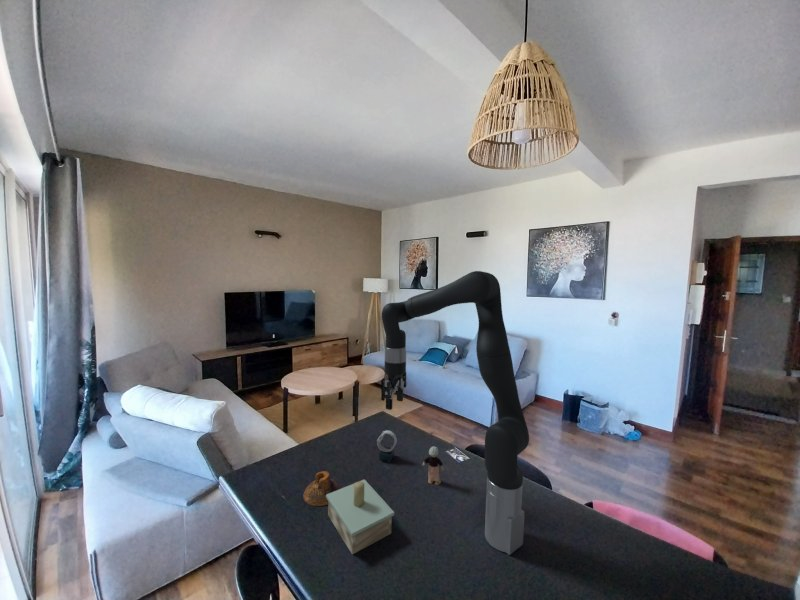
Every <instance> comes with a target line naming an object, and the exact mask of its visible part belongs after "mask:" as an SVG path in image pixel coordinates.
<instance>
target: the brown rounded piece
mask: <svg viewBox="0 0 800 600" xmlns="http://www.w3.org/2000/svg"><path fill="white" fill-rule="evenodd" d="M314 478H315V479H314V480H313V481H311V482H310V483H309V484H308V485H307V487H306V488H305V489H304V492H303V495H302V498H303V501H304V503H306V504H307V505H309V506H311V507H323V506H326V505H327V506H328V500H327V498H326V495H327V494H329V493H332V492H334V491H337V490H339V489H341V487H340V485H339V484H338V482H336V481H335V480H334V479H332V478H331V477H330V473H329V472H328V471H326V470H325V471H319V472H317V473H316V474H315V476H314Z"/></svg>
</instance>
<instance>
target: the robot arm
mask: <svg viewBox="0 0 800 600" xmlns="http://www.w3.org/2000/svg"><path fill="white" fill-rule="evenodd" d="M469 303H470V304H471V303H472V304H475V308H476V313H477V318H478V328H477V337H476V338H477V339H476V349H475V351H476V357H477V364H478V370H479V373H480V376H481V378H482V380H483V382H484V384H485V385H486V387H487V388H488V389H489V391H490V393H491V394H492V396H493V399H494V402H495V406H496V411H497V420H498V421H497V422H495V423H493V424H492V425H490V426H489V427H488V428H487V429H486V432H485V436H484V465H485V468H486V474H487V475H486V494H485V495H486V497H485V498H486V499H485V515H484V516H485V518H484V519H485V520H484V523H485V524H484V538H485V540H486V541H487V543H488V544H489V545H490V546H491V547H492V548H494V549H495V550H497V551H499V552H503V553H506V554H507V555H508V556H510V555H512V554H513V553H514V552H515V551H516V550H518V549H520V547H522V546H523V544H524V531H525V529H524V527H525V511H524V510H523V509H522V504H523V503H522V501H523V500H522V499H523V485H524V484H523V483H524V482H523V481H524V480H523V479H524V474H523V470H521V468H520V467H519V466H518V456H519V455H520V454H521V453H523V452H524V451H525V449H526V448H528V446H529V443H530V433H529V429H528V426H527V425H528V424H527V423H526V422H527V421H526V419H525V415H524V412H523V409H522V405H521V402H520V397H519V393H518V392H519V390H518V386H517V382H516V376H515V371H514V364H513V359H512V354H511V353H512V352H511V349H510V345H509V339H508V335H507V331H506V324H505V322H504V321H505V320H504V317H503V316H504V315H503V307H502V293H501V284H500V282H499V280H498V278H497V277H496V276H495V275H494V274H493V273H490V272H486V271H481V270H475V271H471V272H469V273H467V274H465V275H463V276H461V277H459V278H457V279H456V280H454V281H452V282H450V283H448V284H446V285H444V286H441V287H439V288H436V289H433V290H430V291H427V292H423V293H420V294H417V295H414V296H411V297H409V298H408V299H406V300H404V301H399V302H389V303H386V304H385V305H384V306H383V308H382V310H381V320H382V321H381V322H382V325H383V330H384V333H385V349H384V373H385V375H386V374H387V380H385V379H383V380H382V392H381V393H382V395H381V398H382V399H385V409H386V410H388V411H392V409H393V398H394V394H396V401H397V402H403V401H404V391H405V388H407V347H406V345H407V344H406V343H407V342H406V340H407V338H406V337H407V335H406V334H407V333H406V331H404V330H403V329H401V328H400V323H404V322H409V321H410V320H413V319H415V318H421V317H423V316H426V315H431V314H433V313H437V312H438V311H440V310H442V309H444V308H447V307H451V306H455V305H461V304H469Z"/></svg>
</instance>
